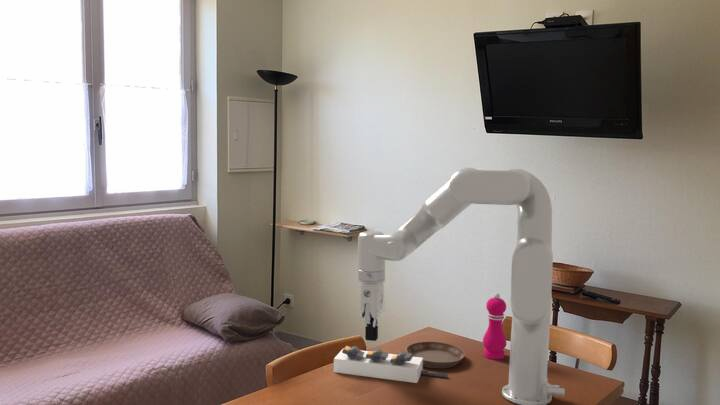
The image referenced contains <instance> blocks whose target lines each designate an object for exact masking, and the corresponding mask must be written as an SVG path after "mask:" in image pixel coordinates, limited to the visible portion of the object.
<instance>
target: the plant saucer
mask: <svg viewBox="0 0 720 405" xmlns="http://www.w3.org/2000/svg"><path fill="white" fill-rule="evenodd" d="M405 351H406V354H409V353H412V355H413V357H421V358H423V367H425V368H428V369H429V368H430V369H449V368H453V367H456V366H457V365H458V364H459V363H460V362H461V361H462V360H463V359H464V357H465V356H466V353H465V351H464V349H461V348H460V347H458V346H456V345H453V344H450V343H445V342H439V341H418V342H413V343H412V344H409V345H408V346H407V347H406V348H405Z"/></svg>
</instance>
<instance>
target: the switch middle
mask: <svg viewBox="0 0 720 405" xmlns="http://www.w3.org/2000/svg"><path fill="white" fill-rule="evenodd" d="M368 351H369V352H368V353H367V354H366V358H367V359H372V361H374V362H378V361H379V360H386V359H387V357H388V354H389V352H387V351H383V350H382V349H380V348H376V349H375V350H368Z"/></svg>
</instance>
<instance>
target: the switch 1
mask: <svg viewBox="0 0 720 405" xmlns="http://www.w3.org/2000/svg"><path fill="white" fill-rule="evenodd" d="M342 349H343V348H342ZM360 350H361V349H360V348H359V347H358V346H356V345H354V346H349V345H345V347H344V349H343V351H342V353H344V354H347V356H348V358H350V359H354V358H357V359H359V360H361V358H362V357H363V356H364V353H365V352H362V351H363V350H362V351H360Z"/></svg>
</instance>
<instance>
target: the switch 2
mask: <svg viewBox="0 0 720 405" xmlns="http://www.w3.org/2000/svg"><path fill="white" fill-rule="evenodd" d="M412 357H413V355H412V353H409V354H407V352H405V351H400V352H399V353H398V354H396V356H393V357H392V358H391V360H390V361H391V364H393V363H397V364H398V365H403V364H404V363H405V362H407V361H411V359H412Z"/></svg>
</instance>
